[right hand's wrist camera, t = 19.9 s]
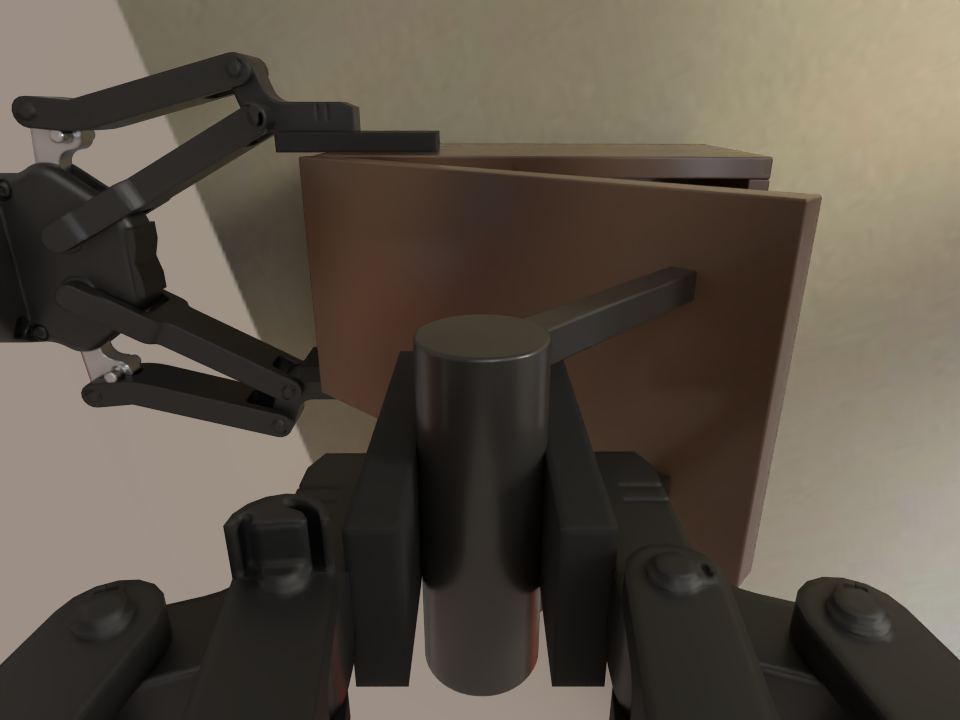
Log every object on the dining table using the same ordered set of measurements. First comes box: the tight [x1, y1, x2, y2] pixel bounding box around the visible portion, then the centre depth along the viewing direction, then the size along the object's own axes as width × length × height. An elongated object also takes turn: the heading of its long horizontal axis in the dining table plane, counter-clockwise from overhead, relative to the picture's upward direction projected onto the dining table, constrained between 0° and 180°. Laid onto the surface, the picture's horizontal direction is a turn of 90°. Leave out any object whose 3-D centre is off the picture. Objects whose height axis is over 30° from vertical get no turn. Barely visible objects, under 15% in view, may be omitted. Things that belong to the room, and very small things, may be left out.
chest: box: [315, 143, 773, 191], centre depth 30 cm, size 17×10×9 cm, turn 90°
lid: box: [299, 156, 822, 696], centre depth 17 cm, size 18×10×9 cm
